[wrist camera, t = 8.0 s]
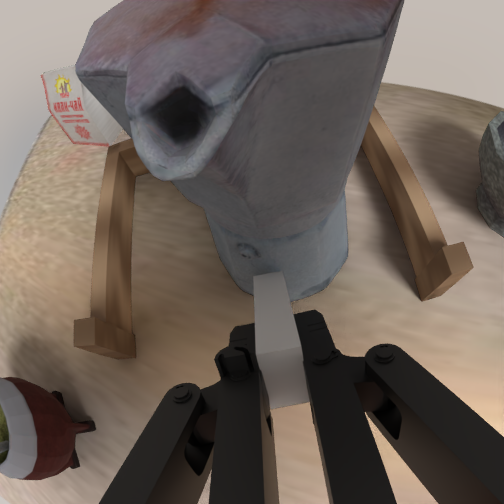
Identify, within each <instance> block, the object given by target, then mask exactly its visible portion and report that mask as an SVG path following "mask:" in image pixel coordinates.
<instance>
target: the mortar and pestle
mask: <svg viewBox="0 0 504 504" xmlns="http://www.w3.org/2000/svg"><path fill="white" fill-rule="evenodd" d="M479 161H480V170H481V177H482V183H481V185H480V186H479V187H478V188H477V190H476V193H477V203H478V209H479V211H480V212H481V214H482V216H483V217H484V219H485V220H486V222H487V224H488V225H489V227H490V228H491V229H492V230H494V231H495V232H497V233H498V234H500V235H501V236H503V237H504V111H501V112H500V113H499V114H498V115H497V116H496V117H495V118H494V119H493V120H492V121H491V122H490V123H489V124H488V126H487V128H486V130H485V132H484V134H483V137H482V141H481V144H480V148H479Z"/></svg>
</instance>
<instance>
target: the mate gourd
mask: <svg viewBox="0 0 504 504" xmlns="http://www.w3.org/2000/svg"><path fill="white" fill-rule="evenodd" d="M95 430H96V427H95V423H94V422H93V421H84V422H78V423H73V421H72V419H71V417H70V416H69V414H68V413H67V411H66V409H65V407H64V403H63V398H62V394H61V393H60V392H57V391H53V392H52V393H50V392H48V391H46V390H45V389H43V388H41V387H40V386H38V385H35V384H33V383H31V382H28V381H26V380H23V379H20V378H14V377H6V378H0V472H1V473H2V474H4V475H6V476H7V477H9V478H17V479H22V480H42V479H45V478H48V477H52V476H55V475H58V474H59V473H61V472H62V471H64V470H65V469H67V468H68V467H70V468H72V469H75V468H77V467H80V464H79V460H78V457H77V453H76V450H75V437H76V434H78V433H85V432H91V431H95Z"/></svg>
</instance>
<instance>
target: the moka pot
mask: <svg viewBox="0 0 504 504" xmlns="http://www.w3.org/2000/svg"><path fill="white" fill-rule="evenodd" d="M403 4H404V0H123V1H122V2H120V3H119V4H118V5H116V6H114V7H113V8H112V9H110V10H109V11H108V12H106V13H105V14H104V15H102V16H101V17H100V18H98V19H97V20H96V21H94V23H93V25H92V26H91V28H90V30H89V33H88V36H87V38H86V41H85V44H84V46H83V48H82V51H81V53H80V55H79V58H78V60H77V62H76V64H75V72H76V75H77V77H78V79H79V80H80V81H81V83H82V84H83V85H84V86H85V87H86V88H87V89H88V90H89V91H90V93H91V94H92V95H93V96H94V97H95V98H96V99H97V100H98V101H99V102H100V104H101V105H102V106H103V107H104V108H105V109H106V110H107V111H108V112H109V113H110V115H111V116H112V117H113V118H114V119H115V120H116V121H117V122H118V123H119V125H120V126H121V127H122V128H123V129H124V130H125V131H126V132H127V134H128V135H129V136H130V137H131V138H132V139H133V142H134V146H135V149H136V151H137V154H138V156H139V157H140V159H141V160H142V162H143V163H144V165H145V166H146V168H147V169H148V170H149V171H150V172H151V174H152V175H153V176H155V177H156V178H158V179H160V180H162V181H171V182H172V183H173V184H174V185H175V186H176V188H177V189H178V190H179V191H180V192H181V193H182V194H183V195H184V196H185V197H186V198H187V199H188V200H189V201H190V202H192V203H194V204H196V205H198V206H200V207H203V208H204V211H205V214H206V217H207V220H208V223H209V226H210V229H211V232H212V236H213V239H214V242H215V245H216V248H217V251H218V254H219V257H220V259H221V261H222V263H223V264H224V266H225V268H226V269H227V271H228V272H229V274H230V275H231V277H232V278H233V280H234V281H235V283H236V284H237V285H238V287H239V288H240V289H241V290H243V291H244V292H247V293H249V294H251V295H253V296H254V282H253V276H257V275H262V274H267V273H272V272H279V271H282V272H283V276H284V279H285V283H286V287H287V291H288V295H289V299H290V302H292V301H296V300H300V299H303V298H306V297H308V296H311V295H313V294H315V293H317V292H320V291H322V290H324V289H325V288H326V287H327V286H328V285H329V283H330V282H331V281H332V280H333V278H334V277H335V276H336V274H337V273H338V272H339V270H340V268H341V267H342V265H343V264H344V262H345V261H346V259H347V257H348V232H347V215H346V199H345V185H346V182H347V177H348V175H349V173H350V171H351V168H352V166H353V163H354V161H355V158H356V156H357V153H358V151H359V148H360V146H361V143H362V140H363V137H364V134H365V131H366V128H367V125H368V122H369V119H370V115H371V112H372V109H373V106H374V103H375V100H376V97H377V94H378V90H379V87H380V84H381V80H382V77H383V74H384V71H385V68H386V64H387V61H388V57H389V54H390V51H391V47H392V44H393V40H394V37H395V33H396V29H397V26H398V22H399V18H400V14H401V11H402V7H403Z"/></svg>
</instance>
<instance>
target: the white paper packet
mask: <svg viewBox="0 0 504 504" xmlns="http://www.w3.org/2000/svg"><path fill="white" fill-rule="evenodd" d="M41 78H42V80H43V84H44V88H45V93H46V99H47V104H48V109H49V111H50V113H51V114H52V116H53V117H54V118H55V120H56V121H57V122H58V124H59V125H60V126H61V128H62V129H63V130H64V132H65V133H66V134H67V136H68V137H69V138H70V140H71V141H72V142H73V144H87V145H100V146H111V145H112V144H113V142H114V141H115V139H116V138H117V137H118V135H119V134H120V133H121V131H122V130H123V128H122V127H121V126H120V125H119V123H118V122H117V121H116V120H115V119H114V118H113V117H112V116H111V115H110V113H109V112H108V111H107V110H106V109H105V108H104V107H103V106H102V105H101V104H100V102H99V101H98V100H97V99H96V98H95V97H94V96H93V95H92V94H91V93H90V91H89V90H88V89H87V88H86V87H85V86H84V85H83V84H82V83H81V81H80V80H79V79H78V77H77V75H76V72H75V65H73V66H68V67H64V68H60V69H56V70H52V71H48V72H44V73H43V74H42V75H41Z"/></svg>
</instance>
